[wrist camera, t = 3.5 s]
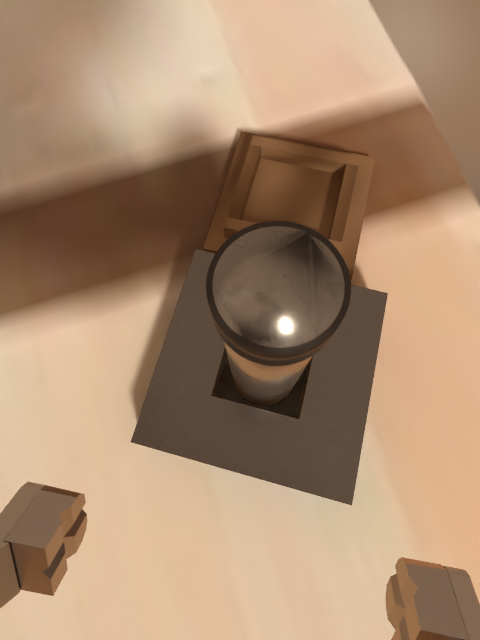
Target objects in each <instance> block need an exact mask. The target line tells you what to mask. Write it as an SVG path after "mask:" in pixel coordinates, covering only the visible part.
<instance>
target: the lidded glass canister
mask: <svg viewBox="0 0 480 640" xmlns="http://www.w3.org/2000/svg"><path fill="white" fill-rule="evenodd" d="M206 295H207V300H208V304H209V308H210V311H211V315H212V318H213V322H214V325H215V327H216V329H217V331H218V333H219V335H220V336H221V338H222V339H223V341H224V343H225V348H226V352H227V356H228V360H229V365H230V369H231V373H232V377H233V381H234V384H235V387H236V389H237V390H238V392H239V393H240V394H241V395H242V396H243V397H244V398H245V399H247V400H248V401H250V402H252V403H255V404H259V405H270V404H274V403H277V402H279V401H281V400H283V399H284V398H285V397H286V396H287V395H288V394H289V393H290V392H291V390H292V389H293V387H294V385H295V384H296V382H297V381H298V379H299V377H300V376H301V374H302V372H303V371H304V369H305V367H306V366H307V364H308V363H309V361H310V359H311V358H312V356H313V355H314V354H316V353H317V352H319V351H320V350H321V349H322V348H323V347H324V346H325V345H326V344H327V342H328V341H329V340H330V339H331V337H332V336H333V334H334V333H335V331H336V330H337V328H338V327H339V325H340V324H341V322H342V320H343V319H344V317H345V314H346V312H347V310H348V307H349V303H350V297H351V281H350V275H349V271H348V268H347V265H346V263H345V261H344V259H343V257H342V256H341V254H340V252H339V251H338V250H337V249H336V247H335V246H334V245H333V244H332V243H331V242H330V241H329V240H328V239H327V238H326V237H324V236H323V235H321V234H320V233H319V232H317V231H315V230H313V229H311V228H309V227H306V226H304V225H301V224H297V223H294V222H287V221H267V222H261V223H257V224H254V225H251V226H248V227H246V228H244V229H242V230H240V231H238V232H237V233H235V234H234V235H232V236H231V237H230V238H228V239H227V240H226V241H225V242H224V243H223V244H222V245H221V247H220V248H219V249H218V251H217V252H216V254H215V255H214V257H213V259H212V261H211V264H210V266H209V269H208V273H207V279H206Z"/></svg>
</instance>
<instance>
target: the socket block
mask: <svg viewBox="0 0 480 640" xmlns="http://www.w3.org/2000/svg"><path fill="white" fill-rule="evenodd" d="M214 255H215V253H211V252H206V251H202V250H198V249H195V252H194V255H193V258H192V261H191V264H190V267H189V270H188V273H187V276H186V279H185V282H184V285H183V288H182V291H181V294H180V297H179V300H178V303H177V306H176V309H175V312H174V315H173V318H172V321H171V323H170V326H169V329H168V332H167V335H166V338H165V341H164V344H163V347H162V350H161V353H160V356H159V359H158V362H157V365H156V368H155V371H154V374H153V377H152V380H151V383H150V386H149V389H148V392H147V395H146V398H145V401H144V404H143V407H142V410H141V413H140V416H139V419H138V422H137V425H136V428H135V431H134V434H133V437H132V440H131V442H132V443H136V444H139V445H143V446H146V447H150V448H153V449H157V450H160V451H164V452H167V453H171V454H174V455H178V456H181V457H185V458H188V459H192V460H195V461H199V462H202V463H206V464H209V465H213V466H216V467H220V468H223V469H227V470H230V471H234V472H237V473H241V474H244V475H248V476H251V477H255V478H258V479H262V480H265V481H269V482H272V483H276V484H279V485H283V486H286V487H290V488H293V489H297V490H300V491H304V492H307V493H311V494H314V495H318V496H321V497H325V498H328V499H332V500H335V501H339V502H342V503H346V504H349V505H352V501H353V495H354V489H355V483H356V478H357V472H358V466H359V460H360V454H361V448H362V442H363V436H364V430H365V424H366V419H367V413H368V407H369V401H370V395H371V389H372V383H373V377H374V371H375V365H376V359H377V354H378V348H379V342H380V336H381V330H382V324H383V318H384V312H385V306H386V300H387V295H388V293H384V292H380V291H376V290H371V289H367V288H363V287H358V286H354V285H351V297H350V303H349V307H348V310H347V312H346V314H345V317H344V319H343V320H342V322H341V324H340V325H339V327H338V328H337V330H336V331H335V333H334V334H333V336H332V337H331V339H330V340H329V341H328V342H327V344H326V345H325V346H324V347H323V348H322V349H321V350H320V351H319V352H317V353H316V354H314V355H313V356H312V358H311V359H310V361H309V363H308V365H307V369H306V374H305V378H304V383H303V387H302V392H301V396H300V401H299V405H298V410H297V414H296V418H293V417H289V416H285V415H282V414H278V413H274V412H270V411H267V410H263V409H259V408H256V407H252V406H248V405H244V404H241V403H237V402H233V401H229V400H226V399H222V398H218V397H216V395H217V392H218V388H219V385H220V381H221V378H222V374H223V371H224V367H225V364H226V360H227V352H226V348H225V343H224V341H223V339H222V338H221V336H220V335H219V333H218V331H217V329H216V327H215V325H214V322H213V318H212V315H211V311H210V308H209V304H208V300H207V295H206V279H207V273H208V269H209V266H210V264H211V261H212V259H213V257H214Z"/></svg>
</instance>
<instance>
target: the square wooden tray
mask: <svg viewBox="0 0 480 640" xmlns="http://www.w3.org/2000/svg"><path fill="white" fill-rule="evenodd" d="M375 159H376V158H374V157H369V156H364V155H359V154H353V153H348V152H343V151H338V150H333V149H328V148H323V147H318V146H313V145H308V144H303V143H298V142H293V141H287V140H282V139H277V138H272V137H267V136H262V135H257V134H252V133H247V132H242V131H241V134H240V137H239V140H238V143H237V146H236V149H235V152H234V155H233V158H232V161H231V164H230V167H229V170H228V173H227V176H226V179H225V182H224V185H223V189H222V192H221V195H220V198H219V201H218V204H217V207H216V210H215V213H214V216H213V219H212V222H211V225H210V228H209V231H208V234H207V237H206V240H205V243H204V246H203V251H206V252H211V253H215V254H216V252H217V251H218V249H219V248H220V247H221V245H222V244H223V243H224V242H225V241H226V240H227V239H228V238H230V237H231V236H232V235H234V234H235V233H237V232H238V231H240V230H242V229H244V228H246V227H248V226H251V225H254V224H257V223H261V222H267V221H287V222H294V223H297V224H301V225H304V226H306V227H309V228H311V229H313V230H315V231H317V232H319V233H320V234H321V235H323V236H324V237H326V238H327V239H328V240H329V241H330V242H331V243H332V244H333V245H334V246H335V247H336V249H337V250H338V251H339V252H340V254H341V256H342V257H343V259H344V261H345V263H346V265H347V268H348V271H349V275H350V281H351V279H352V274H353V269H354V264H355V259H356V254H357V249H358V244H359V239H360V234H361V229H362V224H363V219H364V214H365V209H366V204H367V199H368V194H369V189H370V184H371V179H372V174H373V169H374V164H375Z"/></svg>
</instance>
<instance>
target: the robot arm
mask: <svg viewBox="0 0 480 640" xmlns="http://www.w3.org/2000/svg"><path fill="white" fill-rule="evenodd" d="M85 503H86V502H85V495H84V494H82V493H78V492H73V491H69V490H64V489H60V488H55V487H51V486H47V485H42V484H37V483H32V482H27V483H26V484H24V485H23V486H22V487H21V488H20V489H19V490H18V492H17V493H16V494H15V495H14V497H13V498H12V499H11V501H10V502H9V503H8V505H7V506H6V507H5V508H4V510H3V511H2V512H1V514H0V608H1V607H2V606H4V605H5V604H6V603H7V602H8V601H10V600H11V599H12V598H13V597H14V596H16V595H17V594H18V593H19V592H20V590H25V591H31V592H36V593H41V594H46V595H51V596H54V594H55V592H56V590H57V588H58V586H59V584H60V582H61V581H62V579H63V577H64V575H65V573H66V571H67V561H66V559H67V558H69V557H70V556H72V555H73V554H75V553H76V552H77V550H78V548H79V546H80V544H81V542H82V540H83V537H84V534H85V531H86V526H87V514H86V513H85V512H84V511H83V509H82V508H83V506H84V505H85ZM395 567H396V572H397V574H395V575H393V576H391V577H390V579H389V581H388V584H387V589H386V610H387V617H388V620H389V621H390V623H391V624H392V626H393V627H394V628H395V630H396V631H395V633H394V635H393V637H392V639H391V640H480V604H479V601H478V598H477V596H476V593H475V590H474V587H473V584H472V582H471V579H470V576H469V575H468V573H467V572H466V571H465V570H463V569H458V568H452V567H447V566H442V565H440V564H435V563H429V562H424V561H419V560H413V559H408V558H402V557H401V558H400V559H398V561H397V563H396V565H395Z"/></svg>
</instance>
